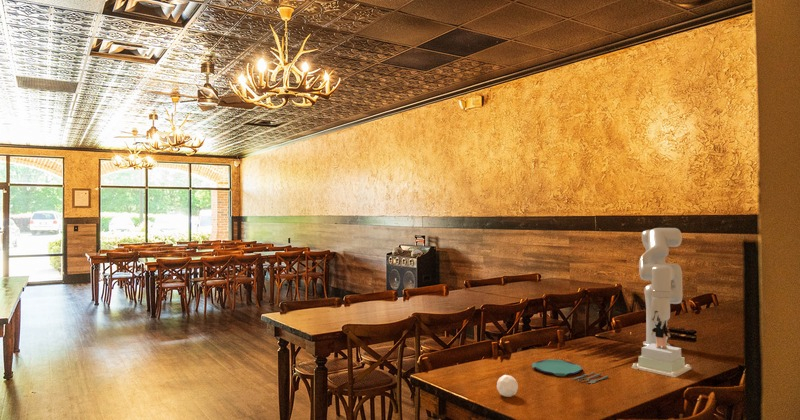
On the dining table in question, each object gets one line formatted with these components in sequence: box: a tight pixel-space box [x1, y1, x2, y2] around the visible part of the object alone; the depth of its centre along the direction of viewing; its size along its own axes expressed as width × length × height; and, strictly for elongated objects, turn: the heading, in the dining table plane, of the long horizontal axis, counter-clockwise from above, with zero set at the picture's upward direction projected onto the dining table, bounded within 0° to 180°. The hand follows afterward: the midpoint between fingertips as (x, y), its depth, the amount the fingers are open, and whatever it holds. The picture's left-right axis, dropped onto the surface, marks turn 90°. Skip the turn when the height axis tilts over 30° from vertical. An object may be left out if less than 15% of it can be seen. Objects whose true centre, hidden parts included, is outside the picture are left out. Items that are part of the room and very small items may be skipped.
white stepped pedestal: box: [631, 343, 692, 378], centre depth 229 cm, size 18×18×9 cm
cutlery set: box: [531, 358, 609, 385], centre depth 222 cm, size 20×30×2 cm, turn 36°
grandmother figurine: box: [651, 320, 671, 349], centre depth 229 cm, size 8×4×13 cm, turn 70°
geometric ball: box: [496, 374, 519, 398], centre depth 193 cm, size 8×8×8 cm
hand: (661, 336), depth 228 cm, fingers open, 3 cm apart
